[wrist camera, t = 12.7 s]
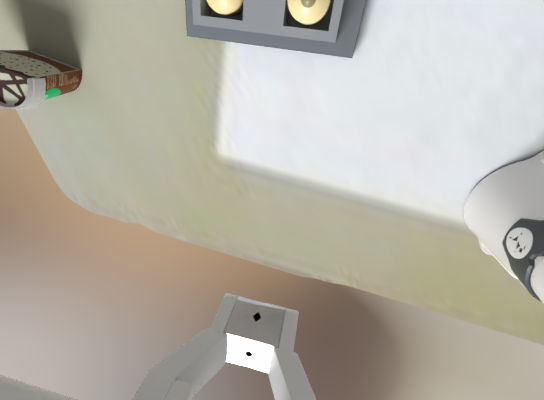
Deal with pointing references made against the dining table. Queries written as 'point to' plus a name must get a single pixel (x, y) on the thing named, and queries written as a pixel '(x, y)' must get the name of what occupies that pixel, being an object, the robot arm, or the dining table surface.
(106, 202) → the dining table surface
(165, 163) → the dining table surface
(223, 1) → the button
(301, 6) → the button
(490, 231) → the robot arm
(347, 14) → the board
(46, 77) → the food container
